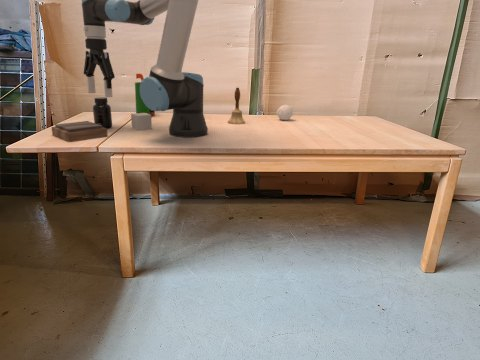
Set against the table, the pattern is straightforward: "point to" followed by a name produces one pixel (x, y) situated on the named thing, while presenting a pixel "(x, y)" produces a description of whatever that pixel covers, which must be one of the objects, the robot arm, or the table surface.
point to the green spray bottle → (139, 102)
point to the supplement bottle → (102, 112)
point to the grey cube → (141, 121)
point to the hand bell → (236, 111)
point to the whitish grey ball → (285, 112)
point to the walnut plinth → (79, 131)
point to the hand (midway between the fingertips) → (100, 95)
